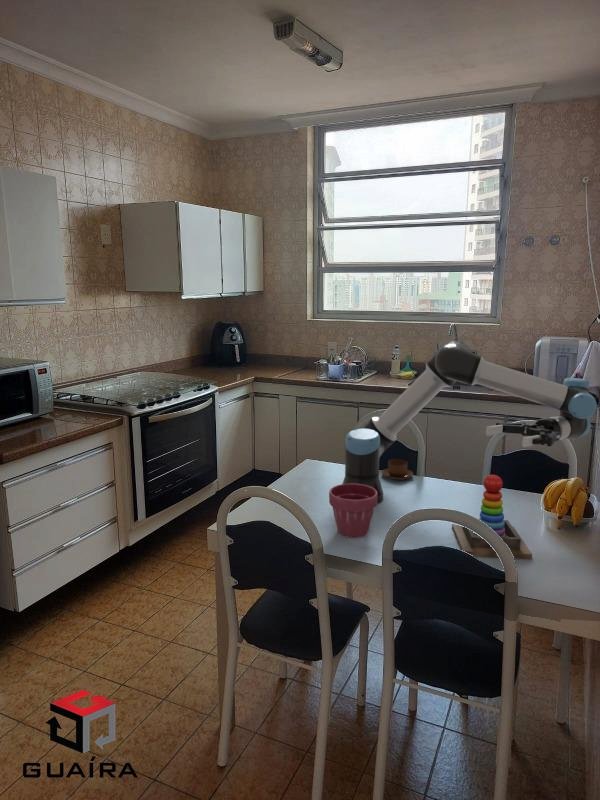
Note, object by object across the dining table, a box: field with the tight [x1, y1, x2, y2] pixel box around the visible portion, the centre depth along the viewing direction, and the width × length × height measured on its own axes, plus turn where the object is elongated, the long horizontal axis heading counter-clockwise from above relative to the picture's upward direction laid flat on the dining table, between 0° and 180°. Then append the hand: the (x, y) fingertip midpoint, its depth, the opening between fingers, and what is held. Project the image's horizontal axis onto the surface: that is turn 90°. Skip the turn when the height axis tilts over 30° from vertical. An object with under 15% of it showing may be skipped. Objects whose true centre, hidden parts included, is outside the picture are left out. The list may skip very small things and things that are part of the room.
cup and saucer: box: [381, 458, 414, 481], centre depth 214 cm, size 12×12×6 cm
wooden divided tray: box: [451, 519, 533, 560], centre depth 157 cm, size 18×18×4 cm
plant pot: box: [328, 483, 378, 539], centre depth 164 cm, size 14×14×13 cm
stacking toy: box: [476, 474, 506, 537], centre depth 156 cm, size 8×8×19 cm
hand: (504, 436), depth 164 cm, fingers open, 13 cm apart
